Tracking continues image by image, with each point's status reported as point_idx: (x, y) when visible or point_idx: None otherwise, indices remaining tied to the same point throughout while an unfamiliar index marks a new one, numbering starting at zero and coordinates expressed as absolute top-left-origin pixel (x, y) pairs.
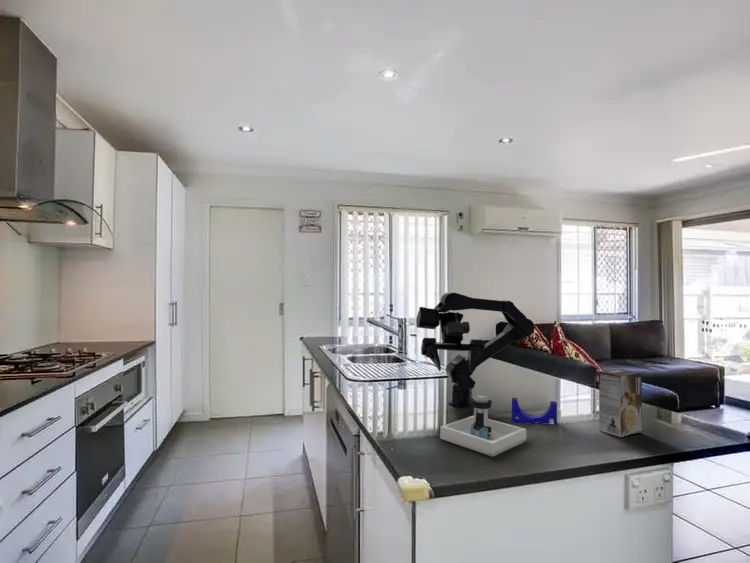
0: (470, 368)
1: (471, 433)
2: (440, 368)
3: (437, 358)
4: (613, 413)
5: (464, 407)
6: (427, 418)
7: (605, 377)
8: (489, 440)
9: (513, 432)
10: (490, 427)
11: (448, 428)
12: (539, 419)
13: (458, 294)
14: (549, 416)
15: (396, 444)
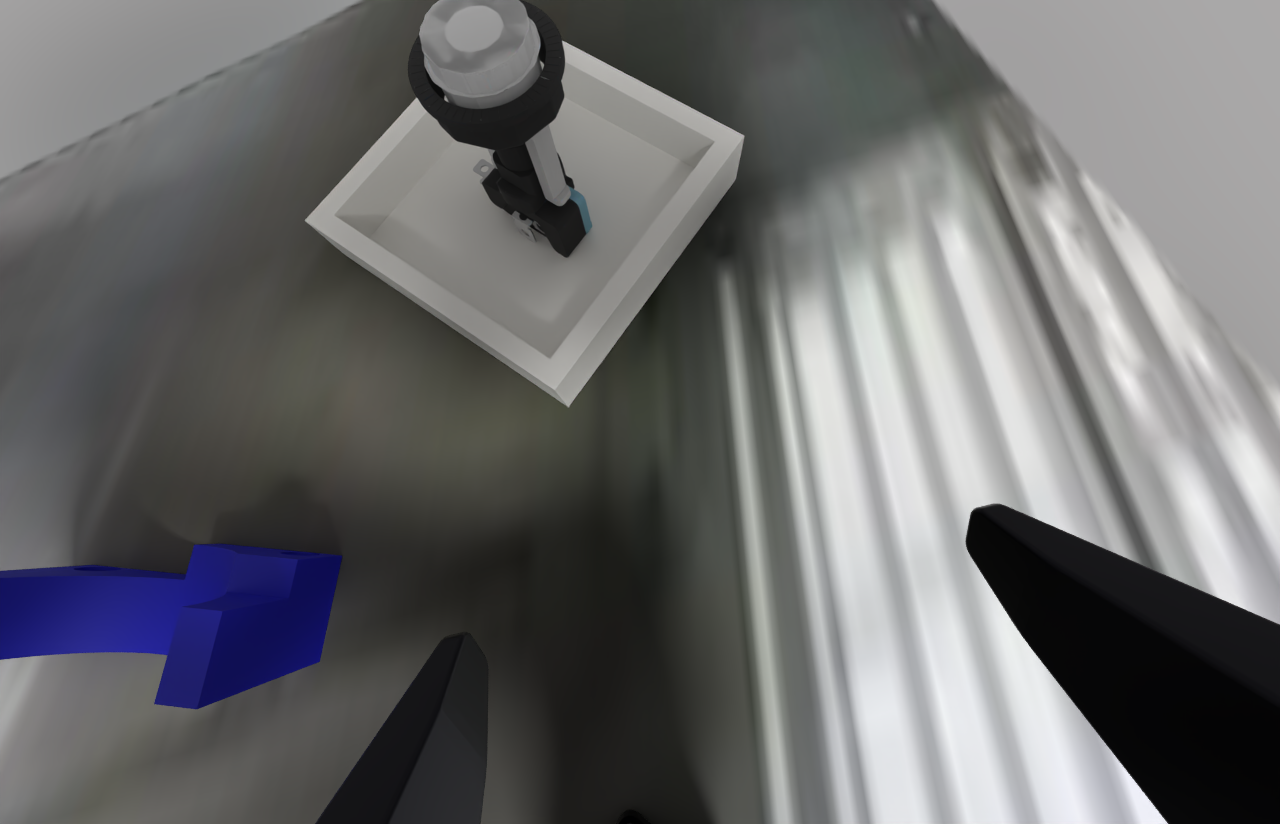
0: (465, 677)
1: (588, 227)
2: (985, 510)
3: (1267, 653)
4: None
5: (628, 811)
6: (856, 476)
7: None
8: None
9: (382, 154)
10: (485, 179)
11: (699, 120)
12: (159, 575)
13: None
14: (75, 573)
15: (910, 68)
